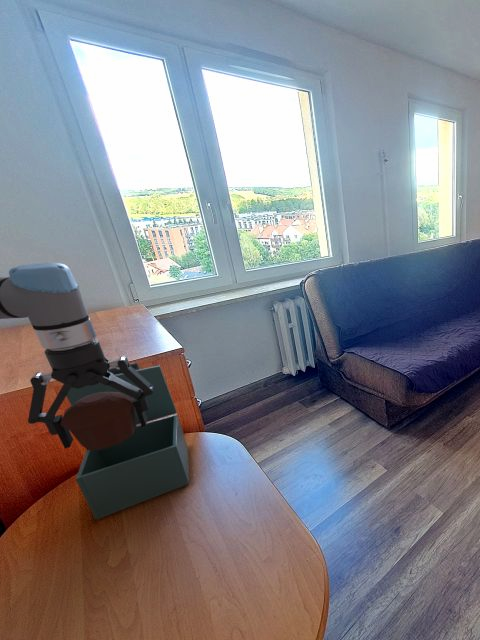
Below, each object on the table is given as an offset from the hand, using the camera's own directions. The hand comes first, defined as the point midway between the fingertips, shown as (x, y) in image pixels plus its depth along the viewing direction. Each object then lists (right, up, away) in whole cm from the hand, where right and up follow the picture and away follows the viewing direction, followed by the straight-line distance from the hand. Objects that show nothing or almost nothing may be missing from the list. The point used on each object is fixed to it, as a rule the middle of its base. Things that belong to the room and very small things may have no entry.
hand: (108, 433), depth 73 cm
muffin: (0, -1, 0) cm, 1 cm away
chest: (-6, -19, +18) cm, 27 cm away
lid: (-10, +3, +15) cm, 18 cm away
